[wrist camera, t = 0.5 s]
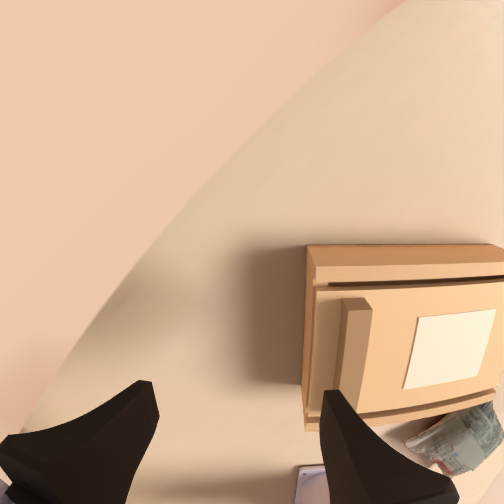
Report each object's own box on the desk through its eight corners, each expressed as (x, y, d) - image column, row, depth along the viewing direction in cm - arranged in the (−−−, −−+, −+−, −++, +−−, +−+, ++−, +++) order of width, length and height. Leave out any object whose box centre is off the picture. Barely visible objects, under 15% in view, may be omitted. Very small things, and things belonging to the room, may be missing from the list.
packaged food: (437, 467, 25) (450, 495, 20) (397, 429, 23) (412, 465, 18) (496, 421, 23) (514, 446, 18) (470, 370, 22) (496, 399, 17)
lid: (493, 382, 17) (506, 397, 14) (307, 410, 18) (309, 434, 16) (522, 277, 15) (542, 287, 13) (315, 287, 16) (321, 303, 14)
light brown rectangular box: (465, 367, 21) (492, 400, 16) (301, 385, 22) (305, 431, 17) (491, 244, 19) (532, 260, 14) (306, 244, 20) (316, 266, 15)
